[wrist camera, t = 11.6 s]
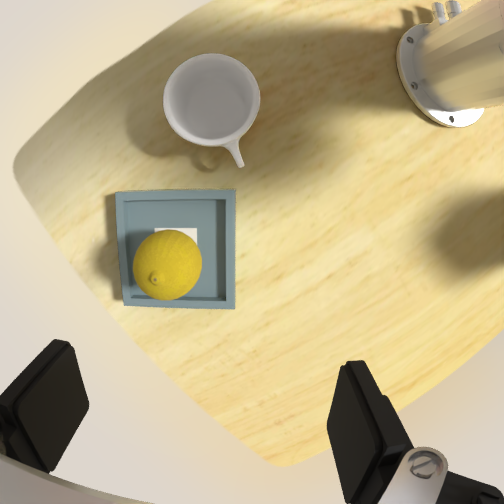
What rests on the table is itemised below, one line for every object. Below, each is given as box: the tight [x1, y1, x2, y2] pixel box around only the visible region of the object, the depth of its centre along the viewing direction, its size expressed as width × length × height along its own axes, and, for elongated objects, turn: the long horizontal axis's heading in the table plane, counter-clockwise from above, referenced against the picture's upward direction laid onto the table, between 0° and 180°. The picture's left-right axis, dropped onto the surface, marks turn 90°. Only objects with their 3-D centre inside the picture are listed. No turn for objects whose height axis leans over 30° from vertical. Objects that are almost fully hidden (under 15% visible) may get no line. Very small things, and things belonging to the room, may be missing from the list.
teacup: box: [163, 53, 260, 168], centre depth 25 cm, size 10×8×5 cm
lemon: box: [133, 229, 202, 300], centre depth 26 cm, size 6×6×8 cm
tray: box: [115, 189, 236, 309], centre depth 30 cm, size 11×11×2 cm
